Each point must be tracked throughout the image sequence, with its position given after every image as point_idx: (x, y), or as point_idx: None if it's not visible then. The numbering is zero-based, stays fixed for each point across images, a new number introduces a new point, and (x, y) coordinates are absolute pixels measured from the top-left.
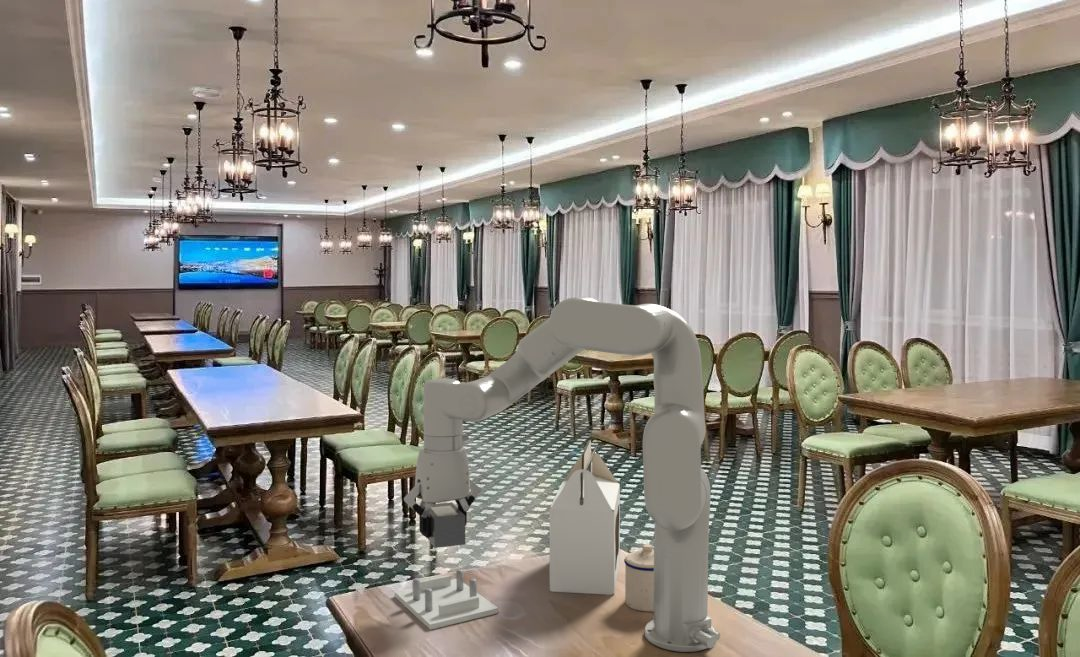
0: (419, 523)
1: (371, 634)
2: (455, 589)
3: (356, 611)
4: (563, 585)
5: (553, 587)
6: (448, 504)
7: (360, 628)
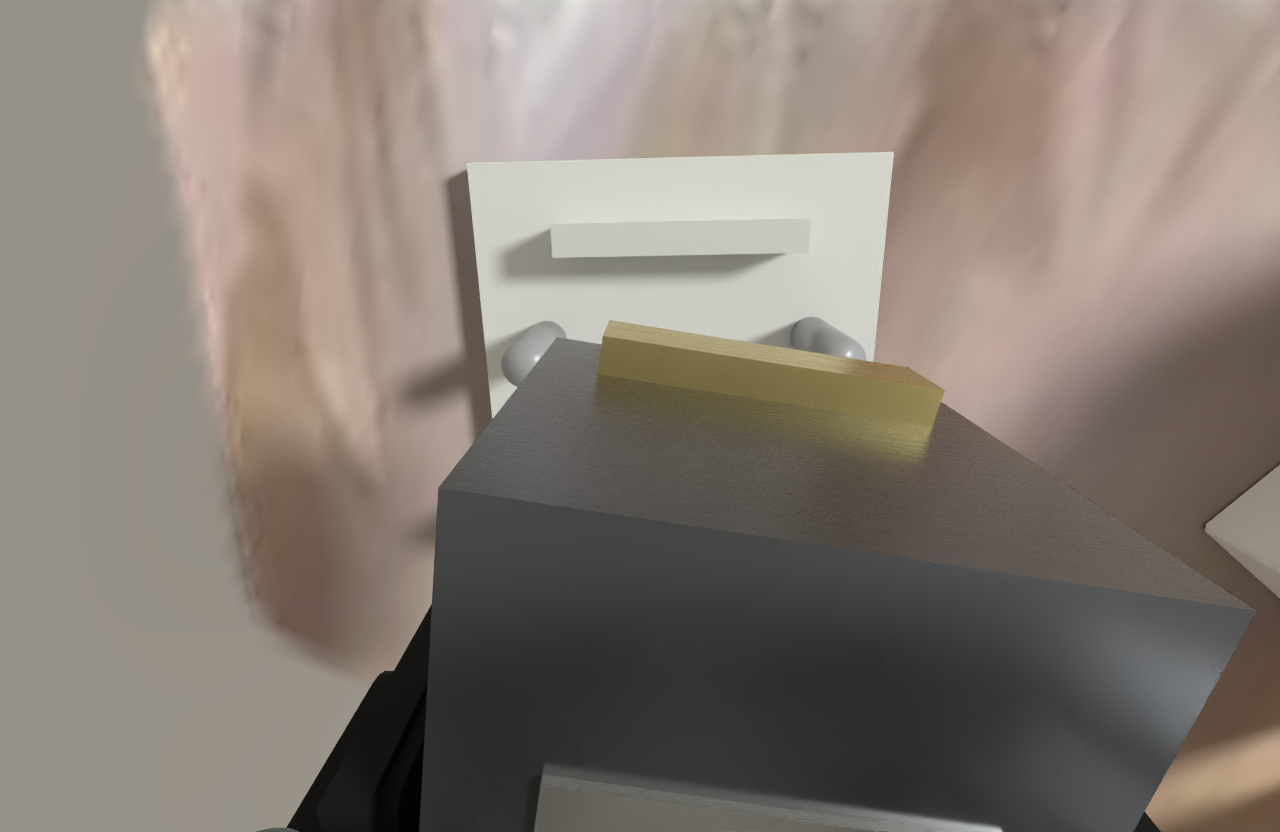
0: (338, 742)
1: (282, 529)
2: (790, 319)
3: (245, 257)
4: (1276, 585)
5: (1231, 549)
6: (1053, 729)
7: (244, 453)
